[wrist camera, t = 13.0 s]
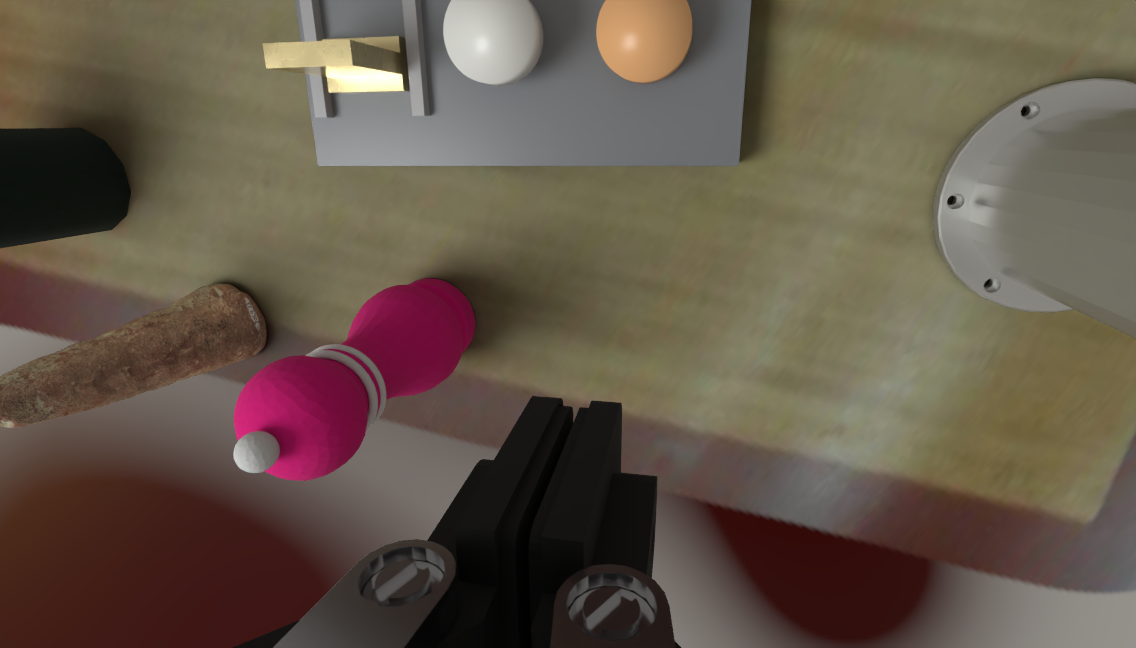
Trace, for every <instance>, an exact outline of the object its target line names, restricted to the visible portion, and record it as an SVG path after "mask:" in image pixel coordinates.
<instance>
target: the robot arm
mask: <svg viewBox="0 0 1136 648" xmlns="http://www.w3.org/2000/svg"><path fill="white" fill-rule="evenodd" d="M1023 106H1024V107H1025V108H1026V113H1025V114H1024V115H1023V116H1021V110H1022V108H1023ZM950 196H953V197H954V200H953V202H952V203H951V204H947V200H948V198H949V197H950ZM933 229H934V235H935V240H936V245H937V247H938V249H939V251H940V254H941V256H942V258H943V260H944V262H945V264H946V265H947V266H948V268H949V269H950V270H951V272H952V273H953V274H954V276H955V277H956V278H957V279H958V280H960V281H961V282H962V283H963V284H964V285H966V286H967V287H968V288H969V289H970V290H972V291H973V292H975V293H977V294H978V295H980V296H982V297H983V298H985V299H987V300H990V301H992V302H994V303H997V304H999V305H1002V306H1004V307H1008V308H1012V309H1017V310H1022V311H1026V312H1047V313H1052V312H1061V311H1069V310H1076V311H1078V312H1081V313H1083V314H1085V315H1087V316H1089V317H1091V318H1093V319H1095V320H1097V321H1100V322H1102V323H1104V324H1106V325H1108V326H1110V327H1112V328H1114V329H1116V330H1119V331H1121V332H1123V333H1125V334H1127V335H1129V336H1131V337H1133V338H1135V339H1136V83H1133V82H1129V81H1125V80H1118V79H1103V78H1092V79H1082V80H1072V81H1067V82H1062V83H1057V84H1052V85H1047V86H1045V87H1042V88H1039V89H1037V90H1034V91H1031V92H1029V93H1026V94H1023V95H1021V96H1019V97H1017V98H1016V99H1014V100H1012V101H1010V102H1009V103H1007V104H1005V105H1003V106H1001V107H1000V108H998V109H997V110H996V111H994V112H993V113H992V114H990V115H989V116H988V117H987V118H985V119H984V120H983V121H981V122H980V123H979V124H978V125H977V126H976V127H975V128H974V129H973V130H972V131H971V132H970V133H969V134H968V135H967V136H966V138H965V139H964V140H963V141H962V142H961V143H960V144H959V146H958V147H957V149H956V150H955V152H954V153H953V155H952V156H951V158H950V159H949V161H948V162H947V164H946V167H945V169H944V171H943V174H942V176H941V178H940V180H939V183H938V186H937V190H936V195H935V199H934V203H933ZM988 279H989V283H988V284H987V285H985V286H984V284H985V282H986V281H987V280H988ZM621 436H622V405H621V403H616V402H603V401H591V403H590V406H589V408H581V407H580V408H579V411H578V413H577V416H576V418H575V420H574V423H573V408H572V407H568V406H563V400H562V398H550V397H537V396H532V398H531V399H530V401H529V402H528V404H527V406H526V407H525V409H524V411H523V412H522V414H521V416H520V417H519V419H518V421H517V422H516V424H515V426H514V427H513V429H512V431H511V432H510V434H509V436H508V437H507V439H506V441H505V442H504V444H503V446H502V447H501V449H500V451H499V452H498V454H497V456H496V457H495V459H494V460H486V459H483V460H480V461H479V462H478V463H477V465H476V466H475V467H474V469H473V470H472V472H471V474H470V475H469V477H468V478H467V480H466V481H465V483H464V485H463V486H462V488H461V489H460V491H459V492H458V494H457V495H456V497H455V498H454V500H453V502H452V503H451V505H450V506H449V508H448V509H447V511H446V513H445V514H444V516H443V517H442V519H441V520H440V522H439V523H438V525H437V527H436V528H435V530H434V531H433V533H432V534H431V536H430V537H429V539H428V540H427V541H425V540H418V539H415V540H404V541H398V542H395V543H391V544H388V545H385V546H383V547H381V548H379V549H377V550H375V551H373V552H371V553H369V554H368V555H367V556H365V557H364V558H363V559H362V560H360V561H359V562H358V563H357V564H356V565H355V566H354V567H353V568H352V569H351V570H350V571H349V572H348V573H347V574H346V575H345V576H344V577H343V578H342V579H341V580H340V581H339V582H338V583H337V584H336V585H335V586H334V587H333V588H332V589H331V590H330V591H329V592H328V593H327V594H326V595H325V596H324V597H323V598H322V599H321V600H320V601H319V602H318V603H317V604H316V605H315V606H314V607H313V608H312V609H311V610H310V611H309V612H308V613H307V614H306V615H305V616H304V617H303V618H302V619H301V620H298V621H296V622H294V623H291V624H289V625H286V626H284V627H282V628H279V629H277V630H274V631H272V632H270V633H267V634H265V635H262V636H260V637H257V638H255V639H253V640H250V641H248V642H245V643H243V644H241V645H238V646H236V647H233V648H681V647H680V646H679V645H678V644H677V643H676V642H675V640H674V633H673V627H672V620H671V613H670V607H669V604H668V600H667V598H666V595H665V592H664V591H663V590H662V588H661V587H660V586H659V585H658V584H657V582H656V581H655V580H653V579H652V568H653V556H654V542H655V524H656V502H657V476H649V475H639V474H628V473H621Z"/></svg>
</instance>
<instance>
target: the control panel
mask: <svg viewBox="0 0 1136 648" xmlns="http://www.w3.org/2000/svg"><path fill="white" fill-rule="evenodd" d="M450 1H451V0H295V2H296V9H297V17H298V24H299V31H300V38H301V42H309V41H322V39H344V38H366V37H388V36H400V37H403V38H405V48H406V59H407V70H408V81H409V91H406V92H367V93H329V90H328V82H327V77H324V76H317V75H309V74H305V75H306V82H307V89H308V96H309V104H310V111H311V118H312V125H313V133H314V140H315V147H316V154H317V161H318V166H739V156H740V143H741V130H742V116H743V103H744V90H745V77H746V64H747V51H748V37H749V24H750V11H751V0H687V2H688V5H689V7H690V11H691V15H692V41H691V45H690V48H689V51H688V54H687V56H686V58H685V59H684V61H683V62H682V64H681V65H680V66H679V68H678V69H677V70H676V71H675V72H674V73H672V74H671V75H670V76H668V77H667V78H665V79H663V80H661V81H658V82H655V83H651V84H638V83H633V82H630V81H627V80H625V79H623V78H622V77H621V76H619V75H618V74H616V73H615V72H614V71H613V70H612V69H610V68H609V66H608V65H607V64H606V63H605V61H604V59H603V58H602V56H601V53H600V51H599V48H598V44H597V37H596V27H597V20H598V16H599V13H600V10H601V8H602V6H603V4H604V2H605V0H530V2H531V3H532V4H533V5H534V7H535V8H536V10H537V12H538V14H539V16H540V19H541V22H542V27H543V47H542V51H541V55H540V57H539V60H538V62H537V64H536V65H535V67H534V68H533V70H532V71H531V72H530V73H529V74H528V75H527V76H526V77H525V78H523V79H522V80H520V81H518V82H516V83H514V84H511V85H506V86H495V85H490V84H486V83H481V82H478V81H475V80H472V79H470V78H468V77H467V76H466V75H464V74H463V73H462V72H461V71H460V70H458V68H457V67H456V66H455V65H454V63H453V62H452V60H451V59H450V57H449V55H448V52H447V49H446V46H445V42H444V35H443V25H444V18H445V13H446V11H447V8H448V6H449V3H450Z"/></svg>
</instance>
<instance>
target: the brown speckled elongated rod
mask: <svg viewBox="0 0 1136 648" xmlns="http://www.w3.org/2000/svg"><path fill="white" fill-rule="evenodd" d="M266 336H267V330H266V323H265V319H264V317H263V315H262V314H261V312H260V310H259V308H258V306H257V305H256V303H255V302H254V301H253V300H252V298H251V297H250V296H249V295H248V294H246V293H244V292H241V291H239V290H238V289H237V288H236V287H234V286H232V285H230V284H213V285H209V286H203V287H201V288H199V289H197V290H195V291H194V292H192V293H190V294H189V295H187V296H185V297H184V298H182V299H180V300H178V301H177V302H175V303H173V304H171V305H170V306H168V307H166V308H163V309H161V310H157V311H153V312H151V313H149V314H147V315H145V316H142V317H140V318H137V319H134V320H132V321H130V322H128V323H126V324H125V325H123V326H122V327H120V328H117V329H113V330H110V331H108V332H105V333H104V334H102V335H101V336H99V337H96V338H94V339H91V340H88V341H83V342H78V343H75V344H73V345H70V346H68V347H66V348H64V349H62V350H60V351H58V352H56V353H53V354H50V355H47V356H43V357H40V358H37V359H35V360H33V361H30V362H29V363H26V364H24V365H22V366H19V367H17V368H16V369H14V370H12V371H10V372H8V373H5V374H3V375H2V376H0V427H1V426H2V427H7V428H18V427H25V426H27V425H31V424H34V423H39V422H42V421H47V420H51V419H55V418H59V417H63V416H67V415H71V414H75V413H79V412H83V411H87V410H91V409H94V408H97V407H102V406H105V405H108V404H111V403H113V402H117V401H120V400H124V399H127V398H131V397H133V396H136V395H138V394H141V393H144V392H146V391H151V390H155V389H158V388H161V387H164V386H167V385H170V384H172V383H174V382H176V381H179V380H183V379H187V378H190V377H193V376H196V375H199V374H203V373H206V372H209V371H212V370H215V369H218V368H221V367H224V366H227V365H230V364H234V363H236V362H238V361H241V360H245V359H249V358H252V357H254V356H256V355H257V354H258V353H259V352H260V351H261V350H262V349H263V348H264V346H265V343H266Z"/></svg>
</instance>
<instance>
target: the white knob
mask: <svg viewBox="0 0 1136 648" xmlns="http://www.w3.org/2000/svg"><path fill="white" fill-rule="evenodd" d="M443 35H444V42H445V46H446V49H447V52H448V55H449V57H450V59H451V60H452V62H453V63H454V65H455V66H456V67H457V68H458V70H460V71H461V72H462V73H463V74H464V75H466V76H467V77H468V78H470V79H472V80H475V81H478V82H481V83H486V84H490V85H495V86H506V85H511V84H514V83H516V82H518V81H520V80H522V79H523V78H525V77H526V76H527V75H528V74H529V73H530V72H531V71H532V70H533V68H534V67H535V65H536V64H537V62H538V60H539V57H540V55H541V51H542V47H543V27H542V22H541V19H540V16H539V14H538V12H537V10H536V8H535V7H534V5H533V4H532V3H531V2H530V0H451V1H450V3H449V6H448V8H447V11H446V13H445V18H444V25H443Z"/></svg>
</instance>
